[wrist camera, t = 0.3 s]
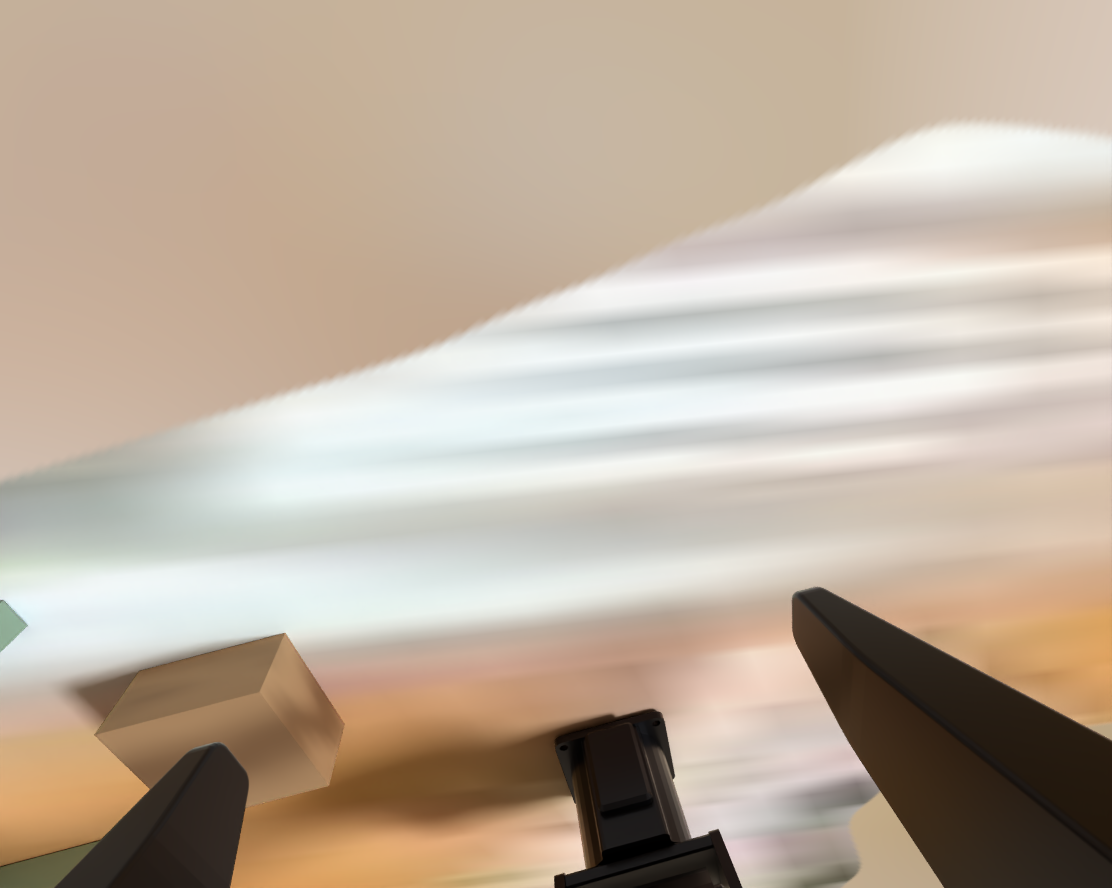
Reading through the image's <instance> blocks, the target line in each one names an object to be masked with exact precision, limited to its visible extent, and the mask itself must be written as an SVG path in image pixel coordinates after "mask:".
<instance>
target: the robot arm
mask: <svg viewBox="0 0 1112 888" xmlns="http://www.w3.org/2000/svg"><path fill="white" fill-rule="evenodd" d="M792 631H793V636H794V639H795V642H796V644H797V646H798V648H799V650H800V652H801V654H802V656H803V658H804V659H805V661H806V663H807V665H808V667H809V669H810V671H811V673H812V675H813V676H814V678H815V680H816V682H817V684H818V686H819V688H820V690H821V692H822V694H823V695H824V697H825V699H826V701H827V703H828V705H829V707H830V709H831V711H832V712H833V714H834V716H835V718H836V720H837V722H838V724H839V726H840V727H841V729H842V731H843V733H844V735H845V736H846V738H847V740H848V742H849V743H850V745H851V747H852V748H853V750H854V751H855V753H856V755H857V756H858V758H859V759H860V761H861V762H862V764H863V765H864V767H865V768H866V770H867V771H868V773H869V774H870V776H871V777H872V779H873V781H874V782H875V784H876V785H877V787H878V788H879V790H880V791H881V793H882V794H883V796H884V797H885V799H886V800H887V801H888V803H889V805H890V806H891V808H892V809H893V811H894V812H895V814H896V815H897V817H898V818H899V820H900V821H901V823H902V824H903V826H904V827H905V829H906V830H907V832H908V834H909V835H910V837H911V838H912V839H913V841H914V843H915V844H916V846H917V847H918V849H919V850H920V852H921V853H922V855H923V856H924V858H925V859H926V861H927V862H928V864H929V865H930V867H931V868H932V870H933V871H934V873H935V874H936V876H937V877H938V879H939V880H940V882H941V883H942V885H943V887H944V888H1112V740H1110V739H1108V738H1106V737H1105V736H1103V735H1101V734H1099V733H1097V732H1095V731H1093V730H1091V729H1089V728H1088V727H1086V726H1084V725H1082V724H1080V723H1078V722H1076V721H1074V720H1072V719H1070V718H1069V717H1067V716H1065V715H1063V714H1061V713H1059V712H1057V711H1055V710H1053V709H1052V708H1050V707H1048V706H1046V705H1044V704H1042V703H1040V702H1038V701H1036V700H1034V699H1033V698H1031V697H1029V696H1027V695H1025V694H1023V693H1021V692H1019V691H1017V690H1016V689H1014V688H1012V687H1010V686H1008V685H1006V684H1004V683H1002V682H1000V681H998V680H997V679H995V678H993V677H991V676H989V675H987V674H985V673H983V672H981V671H980V670H978V669H976V668H974V667H972V666H970V665H968V664H966V663H964V662H962V661H961V660H959V659H957V658H955V657H953V656H951V655H949V654H947V653H945V652H944V651H942V650H940V649H938V648H936V647H934V646H932V645H930V644H928V643H926V642H925V641H923V640H921V639H919V638H917V637H915V636H913V635H911V634H909V633H908V632H906V631H904V630H902V629H900V628H898V627H896V626H894V625H892V624H890V623H889V622H887V621H885V620H883V619H881V618H879V617H877V616H875V615H873V614H872V613H870V612H868V611H866V610H864V609H862V608H860V607H858V606H856V605H855V604H853V603H851V602H849V601H847V600H845V599H843V598H841V597H839V596H837V595H836V594H834V593H832V592H830V591H828V590H826V589H824V588H821V587H813V588H809V589H805V590H801V591H797V592H795V593H794V594H793V596H792ZM555 750H556V753H557V756H558V758H559V761H560V764H561V767H562V770H563V772H564V775H565V778H566V781H567V783H568V786H569V789H570V792H571V794H572V797H573V800H574V802H575V804H576V808H577V814H578V821H579V827H580V834H581V840H582V847H583V853H584V860H585V866H586V869H585V870H581V871H578V872H574V873H571V874H567V875H565V873H563V874H559V875H556V876H554V886H555V888H742V886H741V883H740V881H739V878H738V876H737V873H736V871H735V868H734V866H733V863H732V861H731V859H730V856H729V854H728V851H727V849H726V846H725V844H724V841H723V839H722V836H721V834H720V832H719V829H716V830H713V831H709V832H708V833H709V834H707V835H703V836H700V837H696V838H693V839H692V838H691V835H690V832H689V829H688V826H687V823H686V820H685V816H684V813H683V810H682V807H681V804H680V801H679V798H678V795H677V792H676V789H675V785H674V782H673V779H674V777H675V774H674V769H673V763H672V758H671V753H670V748H669V742H668V737H667V732H666V727H665V721H664V718H663V715H662V713H660V712H657V711H655V712H650V713H647V714H643V715H639V716H635V717H632V718H628V719H624V720H620V721H617V722H613V723H609V724H605V725H602V726H598V727H594V728H590V729H586V730H583V731H579V732H575V733H571V734H568V735H564V736H561V737H558V738H557V739H556V740H555ZM248 791H249V778H248V774H247V772H246V770H245V769H244V767H243V766H242V765H241V764H240V762H239V761H238V760H237V759H236V757H235V756H234V755H233V754H232V752H231V751H230V750H229V749H228V747H227V746H226V745H225V744H223V743H221V742H214V743H210V744H206V745H202V746H199V747H195V748H193V749H191V750H190V751H188V752H187V753H186V754H185V755H184V756H183V757H182V758H181V759H180V760H179V761H178V762H177V763H176V764H175V765H174V766H173V767H172V768H171V769H170V770H169V771H168V772H167V773H166V774H165V775H164V776H163V777H162V778H161V779H160V780H159V781H158V782H157V783H156V784H155V785H154V786H153V787H152V788H151V789H150V790H149V791H148V792H147V793H146V794H145V795H144V796H143V797H142V798H141V799H140V800H139V802H138V803H137V804H136V805H135V806H134V807H133V808H132V809H131V810H130V811H129V812H128V813H127V814H126V815H125V816H124V817H123V818H122V819H121V820H120V821H119V822H118V823H117V824H116V825H115V826H114V827H113V828H112V829H111V830H110V831H109V832H108V833H107V834H106V835H105V836H104V837H103V838H102V839H101V840H100V841H99V842H98V843H97V844H96V845H95V846H94V847H93V848H92V849H91V850H90V851H89V852H88V853H87V854H86V855H85V857H84V858H83V859H82V860H81V861H80V862H79V863H78V864H77V865H76V866H75V867H74V868H73V869H72V870H71V871H70V872H69V873H68V874H67V875H66V876H65V877H64V878H63V879H62V880H61V881H60V882H59V883H58V884H57V885H56V886H55V887H54V888H230V885H231V880H232V875H233V870H234V864H235V859H236V854H237V849H238V844H239V838H240V833H241V828H242V823H243V817H244V812H245V807H246V802H247V796H248Z"/></svg>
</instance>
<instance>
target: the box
mask: <svg viewBox="0 0 1112 888" xmlns="http://www.w3.org/2000/svg"><path fill="white" fill-rule="evenodd" d="M27 626H28V625H27V624H26V623H25V622H24V621H23V620H22V619H21V618H20V617H19V616H18V615H17V614H16V613H15V612H14V611H13V610H12V609H11V608H10V607H9V606H8V605H7V604H6V603H5V602H4V601H0V652H1V651H2V650H3V649H4V648H5V647H6V646H7V645H8V644H9V643H10V642H11V641H13V640H14V639H15V638H16V637H17V636H18V635H19V634H20V633H21V632H22V631H23V630H24V629H25V628H26V627H27ZM98 842H99V841H97V842H93V843H90V844H86V845H82V846H78V847H75V848H71V849H67V850H63V851H59V852H56V853H52V854H48V855H44V856H41V857H37V858H33V859H29V860H26V861H22V862H18V863H14V864H10V865H7V866H3V867H0V888H54V887H55V886H56V885H57V884H58V883H59V882H60V881H61V880H62V879H63V878H64V877H65V876H66V875H67V874H68V873H69V872H70V871H71V870H72V869H73V868H74V867H75V866H76V865H77V864H78V863H79V862H80V861H81V860H82V859H83V858H84V857H85V855H86V854H87V853H88V852H89V851H90V850H91V849H92V848H93V847H94V846H95V845H96V844H97V843H98Z"/></svg>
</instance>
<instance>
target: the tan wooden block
mask: <svg viewBox="0 0 1112 888" xmlns="http://www.w3.org/2000/svg"><path fill="white" fill-rule="evenodd" d="M344 725H345V724H344V722H343V721H342V719H341V718H340V716H339V715H338V713H337V712H336V710H335V709H334V707H333V705H332V704H331V702H330V701H329V699H328V698H327V696H326V695H325V693H324V692H323V690H322V689H321V687H320V686H319V684H318V682H317V681H316V679H315V678H314V676H313V675H312V673H311V672H310V670H309V669H308V667H307V666H306V664H305V662H304V661H303V659H302V658H301V656H300V655H299V653H298V652H297V650H296V649H295V647H294V646H293V644H292V643H291V641H290V639H289V638H288V636H287V635H286V633H283V634H279V635H275V636H271V637H268V638H264V639H260V640H256V641H252V642H248V643H245V644H241V645H237V646H233V647H229V648H225V649H221V650H218V651H214V652H210V653H206V654H202V655H198V656H195V657H191V658H187V659H183V660H179V661H175V662H172V663H168V664H164V665H160V666H156V667H152V668H148V669H145V670H141V671H139V672H138V673H137V675H136V676H135V678H134V679H133V681H132V682H131V683H130V685H129V686H128V688H127V689H126V691H125V692H124V693H123V695H122V696H121V698H120V699H119V701H118V702H117V703H116V705H115V706H114V708H113V709H112V711H111V712H110V713H109V715H108V716H107V718H106V719H105V721H104V722H103V723H102V725H101V726H100V728H99V729H98V731H97V732H96V733H95V736H96V737H97V738H98V739H99V740H100V741H101V742H102V743H103V744H104V745H105V746H106V747H107V748H108V749H109V750H110V751H111V752H112V753H113V754H114V755H115V756H116V757H117V758H118V759H119V760H120V761H121V762H123V763H124V764H125V765H126V766H127V767H128V768H129V769H130V770H131V771H132V772H133V773H134V774H135V775H136V776H137V777H138V778H139V779H140V780H141V781H142V782H143V783H144V784H145V785H146V786H147V787H148V788H149V789H151V788H152V787H153V786H154V785H155V784H156V783H157V782H158V781H159V780H160V779H161V778H162V777H163V776H164V775H165V774H166V773H167V772H168V771H169V770H170V769H171V768H172V767H173V766H174V765H175V764H176V763H177V762H178V761H179V760H180V759H181V758H182V757H183V756H184V755H185V754H186V753H187V752H188V751H190V750H191V749H193V748H195V747H199V746H202V745H206V744H210V743H214V742H221V743H223V744H225V745H226V746H227V747H228V749H229V750H230V751H231V752H232V754H233V755H234V756H235V757H236V759H237V760H238V761H239V762H240V764H241V765H242V766H243V767H244V769H245V770H246V772H247V774H248V778H249V791H248V796H247V802H246V807H245V808H247V807H251V806H255V805H259V804H263V803H266V802H270V801H274V800H278V799H281V798H285V797H289V796H293V795H297V794H300V793H304V792H308V791H312V790H316V789H319V788H323V787H327V786H329V784H330V780H331V776H332V773H333V769H334V765H335V761H336V757H337V753H338V749H339V745H340V741H341V737H342V733H343V729H344Z"/></svg>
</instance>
